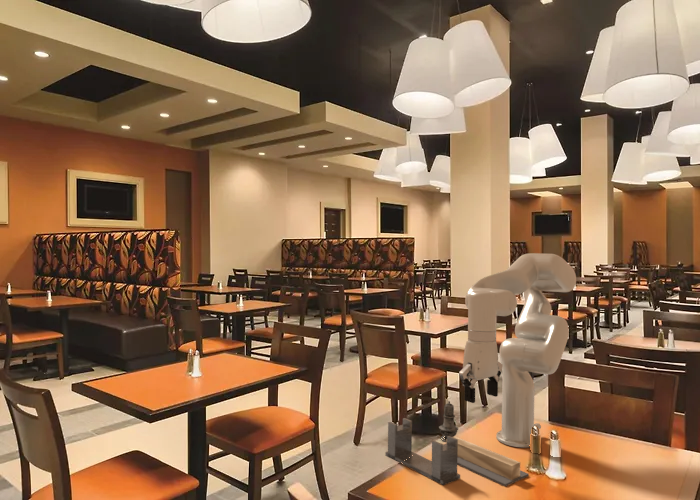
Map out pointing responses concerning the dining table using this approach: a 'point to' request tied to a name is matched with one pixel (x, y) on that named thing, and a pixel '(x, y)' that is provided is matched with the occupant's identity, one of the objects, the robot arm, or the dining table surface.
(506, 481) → the mat
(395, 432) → the rack
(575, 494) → the dining table surface
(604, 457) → the dining table surface
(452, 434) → the grey figurine
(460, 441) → the rail
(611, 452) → the dining table surface
